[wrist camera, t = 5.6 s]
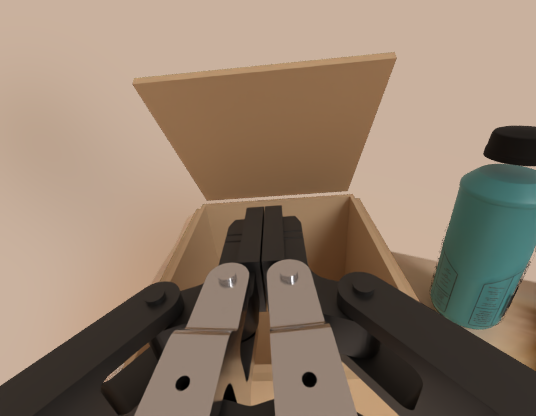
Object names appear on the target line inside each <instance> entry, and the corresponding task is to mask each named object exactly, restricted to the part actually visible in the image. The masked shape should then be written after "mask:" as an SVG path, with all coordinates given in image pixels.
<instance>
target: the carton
mask: <svg viewBox="0 0 536 416" xmlns="http://www.w3.org/2000/svg"><path fill="white" fill-rule="evenodd" d="M277 205H282V214H283V217H284V216H296V217H297V218H298V219H299V221H300V222H301V225H302V232H303V238H304V244H305V250H306V256H307V262H308V266H309V268H310V269H311V270H312V271H313V272H314V273H315V274H317V275H318V276H320V277H323V278H326V279H330V280H335V281H339V280H340V279H341V278H342V277H343V276H344V275H346V274H348V273H352V272H366V273H370V274H372V275H375V276H377V277H378V278H380V279H382V280H383V281H385V282H387V283H388V284H390V285H392V286H393V287H395V288H397V289H398V290H400V291H402V292H404V293H405V294H407V295H409V296H410V297H412V298H414V299H415V300H417V301H419V300H418V298H417V296H416V294H415V293H414V291H413V289H412V288H411V286H410V284H409V282H408V281H407V279H406V277H405V276H404V274H403V272H402V271H401V269H400V267H399V265H398V264H397V262H396V260H395V259H394V257H393V255H392V253H391V252H390V250H389V248H388V247H387V245H386V243H385V242H384V240H383V238H382V236H381V235H380V233H379V231H378V230H377V228H376V226H375V224H374V223H373V221H372V220H371V218H370V216H369V214H368V212H367V211H366V209H365V207H364V206H363V204H362V202H361V200H360V199H359V198H354V196H353V194H347V195H332V196H317V197H303V198H288V199H273V200H258V201H245V202H230V203H215V204H203V205H202V207H201V209H197V210H196V212H195V213H194V215H193V217H192V219H191V221H190V223H189V225H188V227H187V229H186V231H185V233H184V235H183V237H182V239H181V241H180V243H179V245H178V247H177V249H176V251H175V253H174V255H173V256H172V258H171V260H170V262H169V264H168V266H167V268H166V270H165V272H164V274H163V276H162V278H161V280H160V282H163V281H168V282H173V283H175V284H176V285H177V286H178V287H179V289H180V291H182V290H185V289H189V288H192V287H195V286H198V285H201V284H203V283H204V282H205V279H206V277H207V275H208V274H209V272H210V271H211V270H213V269H214V268H215V267H217V266H218V265H219V261H220V258H221V254H222V250H223V246H224V243H225V239H226V236H227V231H228V227H229V226H230V225H231V224H232V223H233V222H234V221H235V220H240V219H245V214H246V209H247V208H249V207H263V206H264V210H265V206H277ZM419 302H420V301H419ZM258 330H259V333H258V341H257V348H256V355H255V362H254V369H253V377H252V384H251V406H253V405H257V404H260V403H263V402H266V401H269V400H272V399H274V389H273V374H272V360H271V345H270V315H269V312H268V306H267V308H266V312H259V324H258ZM149 347H150V345H149V343H147V344H146V345H145V346H143V347H142V348H141V349H140V350H139V351H137V352H136V353H135V354H134V355H133V356H131V357H130V358H129V359H128V360H126V361H125V362H124V363H125V364H124V367H123V369H124V368H125V367H126V366H127V365H128V364H130V363H131V362H132V361H133V360H134V359H136V358H137V357H138V356H139V355H140V354H142V353H143V352H144V351H145V350H146V349H148V348H149ZM342 365H343V368H344V372H345V375H346V378H347V382H348V385H349V388H350V392H351V395H352V399H353V402H354V405H355V409H356V412H358V413H360V414H361V415H363V416H399V415H398V414H397V413H396V412H395V411H394V410H393V409H391V408H390V407H389V406H388V405H387V404H386V403H385V402H384V401H383V400H382V399H381V398H380V397H379V396H378V395H377V394H376V393H375V392H374V391H373V390H372V389H370V388H369V387H368V386H367V385H366V384H365V383H364V382H363V381H362V380H361V379H360V378H359V377H358V376H357V375H356V374H355V373H354V372H353V371H352V370H351V369H349V368H348V367H347V366H346V365H345V364H344V363H343V362H342Z"/></svg>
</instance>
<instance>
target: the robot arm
mask: <svg viewBox="0 0 536 416" xmlns="http://www.w3.org/2000/svg"><path fill="white" fill-rule="evenodd" d="M267 306H268V312H269V315H270V345H271V360H272V374H273V389H274V399H272V400H269V401H266V402H263V403H260V404H257V405H253V406H251V384H252V377H253V369H254V362H255V355H256V348H257V341H258V333H259V330H258V324H259V312H266V308H267ZM147 343H149V345H150V347H149V348H148V349H146V350H145V351H144V352H143V353H142V354H140V355H139V356H138V357H137V358H136V359H134V360H133V361H132V362H131V363H130V364H128V365H127V366H126V367H125V368H124V369H122V370H121V371H120V372H119V373H118V374H116V375H115V376H114V377H113V378H112V379H110V380H109V381H107V382H104V380H105V379H106V378H107V377H108V376H109V375H110V374H111V373H112V372H113V371H114V370H116V369H117V368H118V367H119V366H120V365H122V364H123V363H124V362H125V361H126V360H128V359H129V358H130V357H131V356H133V355H134V354H135V353H136V352H137V351H139V350H140V349H141V348H142V347H143V346H145V345H146V344H147ZM342 362H343V363H344V364H345V365H346V366H347V367H348V368H349V369H351V370H352V371H353V372H354V373H355V374H356V375H357V376H358V377H359V378H360V379H361V380H362V381H363V382H364V383H365V384H366V385H367V386H368V387H369V388H370V389H372V390H373V391H374V392H375V393H376V394H377V395H378V396H379V397H380V398H381V399H382V400H383V401H384V402H385V403H386V404H387V405H388V406H389V407H390V408H391V409H393V410H394V411H395V412H396V413H397V414H398V415H399V416H536V371H534V370H533V369H531V368H529V367H527V366H526V365H524V364H522V363H521V362H519V361H517V360H516V359H514V358H512V357H511V356H509V355H507V354H506V353H504V352H502V351H501V350H499V349H497V348H496V347H494V346H492V345H491V344H489V343H487V342H486V341H484V340H482V339H481V338H479V337H477V336H476V335H474V334H472V333H471V332H469V331H467V330H466V329H464V328H462V327H460V326H459V325H457V324H455V323H454V322H452V321H450V320H449V319H447V318H445V317H444V316H442V315H440V314H439V313H437V312H435V311H434V310H432V309H430V308H429V307H427V306H425V305H424V304H422V303H420V302H419V301H417V300H415V299H414V298H412V297H410V296H409V295H407V294H405V293H404V292H402V291H400V290H398V289H397V288H395V287H393V286H392V285H390V284H388V283H387V282H385V281H383V280H382V279H380V278H378V277H377V276H375V275H372V274H370V273H366V272H352V273H348V274H346V275H344V276H343V277H342V278H341V279H340V280H339V281H335V280H330V279H326V278H323V277H320V276H318V275H317V274H315V273H314V272H313V271H312V270H311V269H310V268H309V266H308V262H307V256H306V250H305V244H304V238H303V232H302V225H301V222H300V221H299V219H298V218H297V217H296V216H284V217H283V214H282V205H277V206H265V210H264V206H263V207H249V208H247V209H246V214H245V219H240V220H235V221H234V222H233V223H232V224H231V225H230V226H229V227H228V231H227V236H226V239H225V243H224V246H223V250H222V254H221V258H220V261H219V265H218V266H217V267H215V268H214V269H213V270H211V271H210V272H209V274H208V275H207V277H206V279H205V282H204V283H203V284H201V285H198V286H195V287H192V288H189V289H185V290H182V291H180V289H179V287H178V286H177V285H176V284H175V283H173V282H168V281H163V282H158V283H155V284H152V285H150V286H148V287H146V288H144V289H143V290H142V291H140V292H139V293H137V294H136V295H134V296H133V297H131V298H130V299H128V300H127V301H126V302H124V303H122V304H121V305H119V306H118V307H116V308H115V309H113V310H112V311H111V312H109V313H107V314H106V315H105V316H103V317H102V318H100V319H99V320H97V321H96V322H94V323H93V324H91V325H90V326H88V327H87V328H85V329H84V330H82V331H81V332H79V333H78V334H76V335H75V336H73V337H72V338H71V339H69V340H68V341H66V342H65V343H63V344H62V345H60V346H59V347H57V348H56V349H54V350H53V351H52V352H50V353H48V354H47V355H45V356H44V357H42V358H41V359H39V360H38V361H36V362H35V363H33V364H32V365H31V366H29V367H28V368H26V369H25V370H23V371H22V372H20V373H19V374H17V375H16V376H14V377H13V378H11V379H10V380H8V381H7V382H5V383H4V384H3V385H1V386H0V416H363V415H361V414H360V413H358V412H356V409H355V405H354V402H353V399H352V395H351V392H350V388H349V385H348V382H347V378H346V375H345V372H344V368H343V365H342ZM103 382H104V383H103Z"/></svg>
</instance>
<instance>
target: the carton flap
mask: <svg viewBox="0 0 536 416" xmlns="http://www.w3.org/2000/svg"><path fill="white" fill-rule="evenodd" d="M396 59H397V58H396V55H395V52H391V53H381V54H372V55H361V56H351V57H341V58H331V59H322V60H311V61H302V62H291V63H282V64H271V65H261V66H252V67H242V68H233V69H232V68H231V69H222V70H212V71H202V72H192V73H182V74H172V75H163V76H152V77H142V78H134V80H133V86H134V87H135V89H136V90H137V92H138V94H139V95H140V97H141V98H142V100H143V101H144V103H145V104H146V106H147V107H148V109H149V111H150V112H151V114H152V116H153V117H154V118H155V120H156V122H157V123H158V125H159V126H160V128H161V130H162V131H163V133H164V134H165V136H166V137H167V139H168V140H169V142H170V143H171V145H172V147H173V148H174V150H175V151H176V153H177V155H178V156H179V158H180V159H181V161H182V162H183V164H184V165H185V167H186V169H187V170H188V171H189V173H190V175H191V176H192V178H193V179H194V181H195V183H196V184H197V186H198V187H199V189H200V190H201V192H202V193H203V195H204V196H205V198H206V200H207V201H208V200H224V199H238V198H253V197H268V196H282V195H297V194H311V193H326V192H340V191H348V188H349V186H350V183H351V180H352V178H353V175H354V172H355V169H356V167H357V164H358V161H359V159H360V156H361V153H362V151H363V148H364V145H365V142H366V139H367V137H368V134H369V132H370V128H371V126H372V123H373V121H374V118H375V115H376V113H377V110H378V107H379V104H380V102H381V99H382V96H383V94H384V91H385V88H386V86H387V83H388V80H389V77H390V74H391V72H392V69H393V67H394V64H395V61H396Z"/></svg>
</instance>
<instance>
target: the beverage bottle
mask: <svg viewBox="0 0 536 416" xmlns="http://www.w3.org/2000/svg"><path fill="white" fill-rule="evenodd" d="M483 154H484V156H485V157H487V158H489V159H491V160H494V161H497V162H501V163H505V164H490V165H485V166H482V167H480V168H477V169H475V170H473V171H471V172H470V173H467V174H466V175H464V176H463V177H462V178H461V181H460V187H459V191H458V195H457V198H456V202H455V205H454V209H453V213H452V216H451V220H450V223H449V227H448V229H447V232H446V236H445V240H444V243H443V247H442V251H441V255H440V258H439V262H438V266H435V267H436V269H437V270H436V274H435V273H434V274H435V276H433V278H434V279H433V280H434V281H432V282H433V283H432V282H431V283H432V285H431V286H430V287H431V288H432V289H430V290H431V295H430V296H431V299H432V302H433V304H434V306H435V308H436V309H437V310H438V311H439V312H440V313H441V314H442V315H443V316H444V317H446V318H447V319H449V320H450V321H452V322H454V323H456V324H458V325H461V326H464V327H467V328H472V329H487V328H491V327H493V326H494V325H497V323H498V322H499V321H500V320H501V318H502V317H503V316H504V314H505V312H507V308H509V306H510V304H511V302H512V300H513V298H514V296H515V293H516V291H517V289H518V287H517V286H518V283H519V281H520V283H521V282H522V281H521V277H522V275H523V272H524V270H525V268H527V267H528V266H527V264H528V262H529V260H530V258H531V256H532V253H533V251H534V248H535V246H536V170H534V169H530V168H527V167H523V166H536V127H532V126H505V127H499V128H496V129H495V130H494V131H493V132H492V134H491V136H490V139H489V141H488V144H487V145H486V147H485V150H484V153H483ZM509 164H511V165H509ZM517 165H519V166H517ZM526 266H527V267H526ZM434 271H435V270H434ZM524 274H525V273H524ZM522 280H523V279H522ZM516 287H517V289H516ZM515 289H516V291H515ZM514 291H515V293H514ZM429 292H430V291H429ZM513 293H514V295H513ZM504 317H505V316H504ZM502 321H503V320H502ZM502 321H501V322H502ZM501 322H500V323H501ZM498 324H499V323H498Z"/></svg>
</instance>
